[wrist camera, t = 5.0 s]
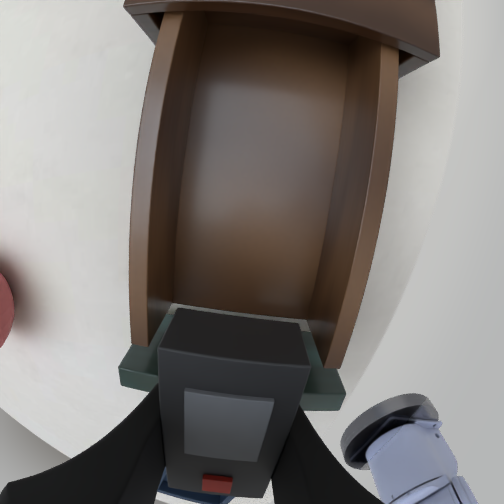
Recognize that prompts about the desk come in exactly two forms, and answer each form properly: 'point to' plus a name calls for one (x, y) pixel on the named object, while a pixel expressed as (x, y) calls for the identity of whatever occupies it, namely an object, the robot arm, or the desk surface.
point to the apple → (5, 310)
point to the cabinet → (324, 20)
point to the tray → (191, 494)
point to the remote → (228, 399)
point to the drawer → (259, 181)
